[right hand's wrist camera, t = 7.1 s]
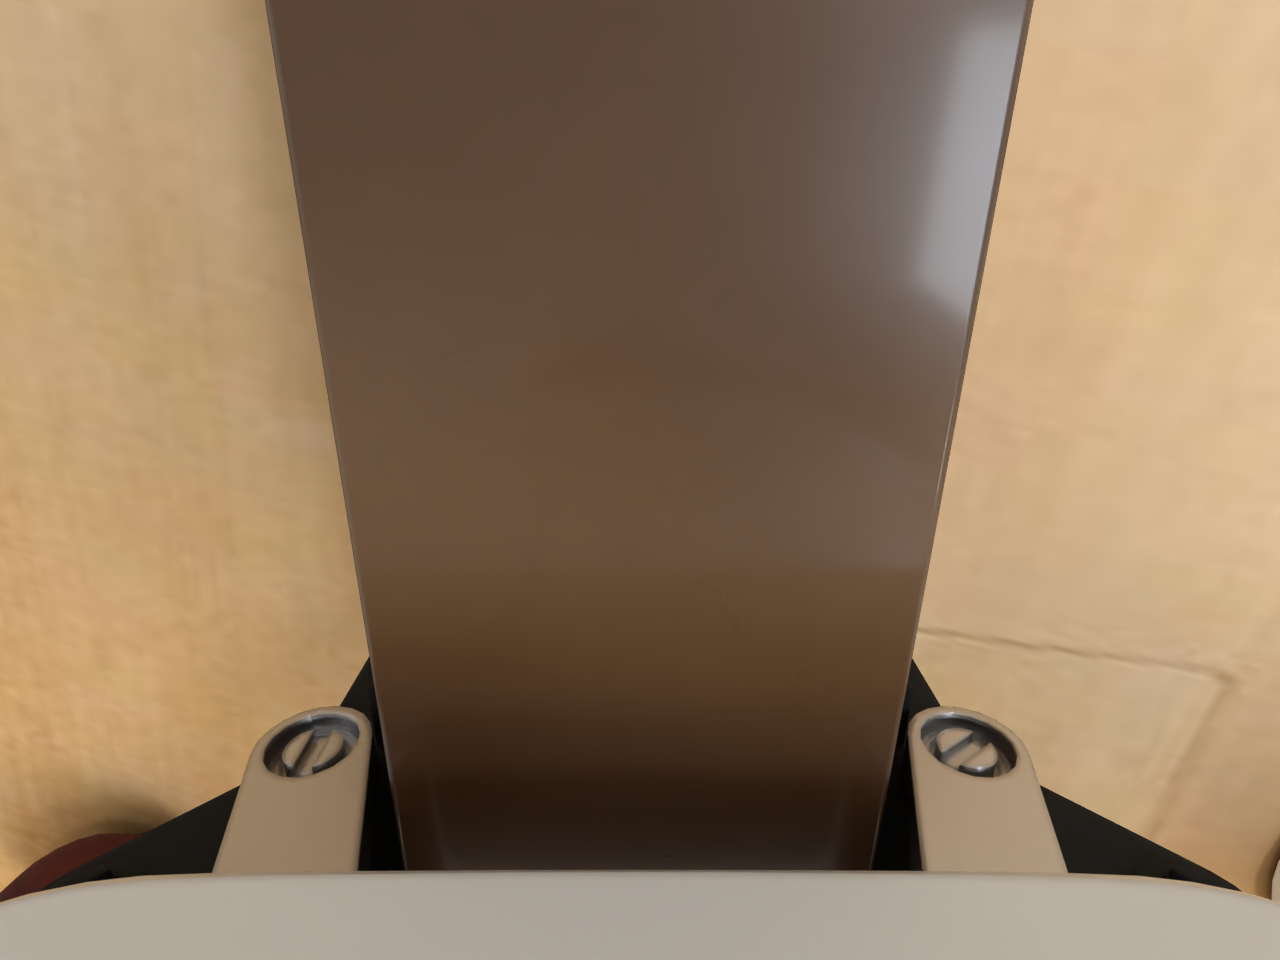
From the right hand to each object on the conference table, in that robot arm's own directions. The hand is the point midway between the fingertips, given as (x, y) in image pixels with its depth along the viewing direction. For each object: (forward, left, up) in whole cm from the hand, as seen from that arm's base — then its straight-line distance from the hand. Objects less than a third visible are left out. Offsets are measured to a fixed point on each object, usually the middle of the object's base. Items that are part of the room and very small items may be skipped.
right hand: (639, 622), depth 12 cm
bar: (+19, -4, -3) cm, 19 cm away
